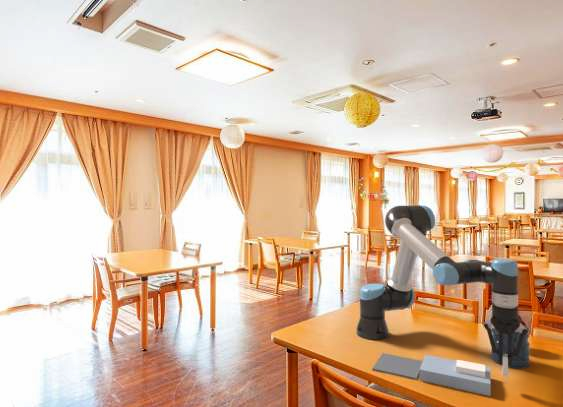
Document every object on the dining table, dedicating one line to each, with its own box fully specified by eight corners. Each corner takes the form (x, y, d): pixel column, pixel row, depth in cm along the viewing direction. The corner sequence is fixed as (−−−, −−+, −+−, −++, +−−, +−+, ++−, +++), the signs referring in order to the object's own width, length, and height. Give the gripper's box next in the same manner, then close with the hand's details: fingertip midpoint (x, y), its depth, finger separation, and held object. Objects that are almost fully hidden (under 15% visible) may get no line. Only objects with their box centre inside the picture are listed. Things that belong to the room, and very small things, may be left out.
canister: (490, 364, 142) (490, 319, 142) (491, 352, 153) (491, 310, 153) (530, 372, 135) (530, 325, 135) (528, 359, 146) (528, 315, 146)
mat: (372, 369, 138) (372, 368, 138) (382, 354, 152) (382, 352, 152) (416, 379, 130) (416, 378, 130) (423, 362, 144) (423, 360, 144)
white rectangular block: (455, 371, 127) (455, 366, 127) (457, 365, 133) (457, 359, 133) (485, 377, 123) (485, 371, 123) (485, 370, 128) (485, 364, 128)
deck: (419, 380, 130) (419, 369, 130) (425, 364, 142) (425, 354, 142) (490, 396, 119) (490, 384, 119) (490, 377, 131) (490, 366, 131)
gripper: (482, 305, 123) (483, 375, 123) (529, 310, 116) (529, 384, 116) (482, 300, 129) (483, 366, 129) (526, 304, 123) (527, 374, 123)
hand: (505, 374), depth 123 cm, fingers closed
